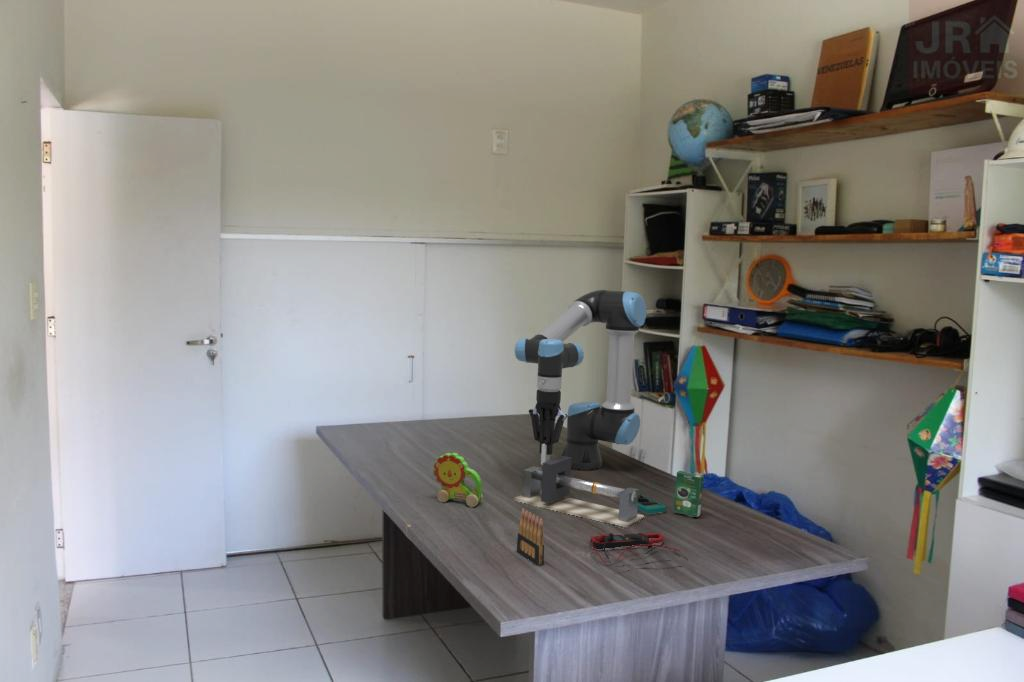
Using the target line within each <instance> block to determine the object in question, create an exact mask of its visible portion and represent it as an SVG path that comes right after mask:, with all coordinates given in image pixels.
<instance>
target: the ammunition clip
mask: <svg viewBox="0 0 1024 682" xmlns="http://www.w3.org/2000/svg"><path fill="white" fill-rule="evenodd" d="M543 521H544V520H543V519H542V517H540V519H539V515H536V514H534V513H533V514H532V512H531V511H528V509H526V510H525V508H524V507H522V509H521V513H520V521H519V527H518V533H517V540H516V553H518V554H519V555H520V556H522V555H523V556H522V557H524V558H525V559H527V560H528V559H529V560H528V561H529V562H531V561H532V562H533V563H532V562H531V563H532V564H534V563H535V564H536V566H537V565H539V566H543V564H544V563H545V562H544V561H545V559H544V558H545V544H544V522H543ZM535 564H534V565H535Z"/></svg>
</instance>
